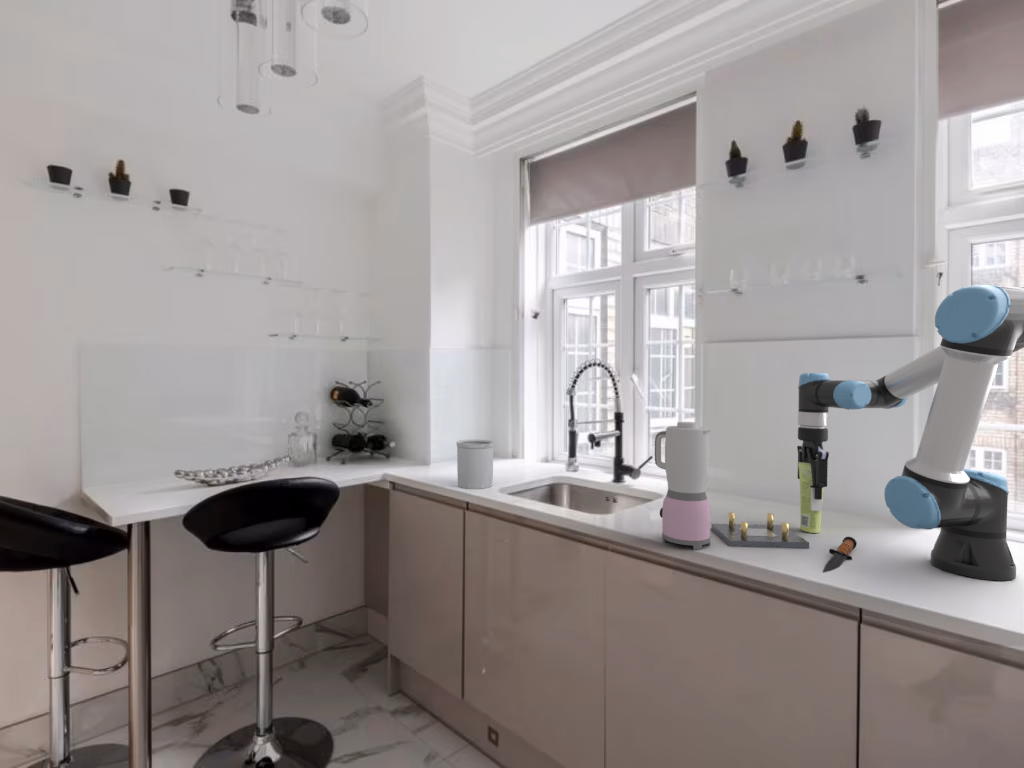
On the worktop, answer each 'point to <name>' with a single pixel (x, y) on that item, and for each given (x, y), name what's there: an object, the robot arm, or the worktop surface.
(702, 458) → the blender
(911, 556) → the worktop surface
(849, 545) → the knife
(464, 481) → the utensil holder
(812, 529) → the tube
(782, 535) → the plate
